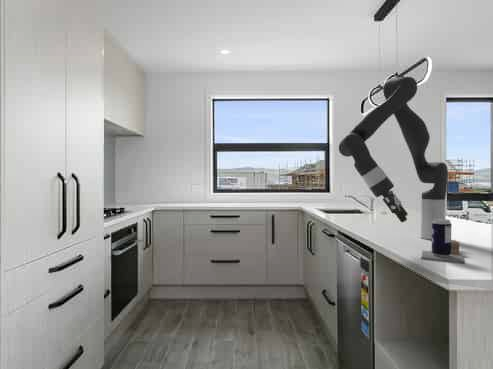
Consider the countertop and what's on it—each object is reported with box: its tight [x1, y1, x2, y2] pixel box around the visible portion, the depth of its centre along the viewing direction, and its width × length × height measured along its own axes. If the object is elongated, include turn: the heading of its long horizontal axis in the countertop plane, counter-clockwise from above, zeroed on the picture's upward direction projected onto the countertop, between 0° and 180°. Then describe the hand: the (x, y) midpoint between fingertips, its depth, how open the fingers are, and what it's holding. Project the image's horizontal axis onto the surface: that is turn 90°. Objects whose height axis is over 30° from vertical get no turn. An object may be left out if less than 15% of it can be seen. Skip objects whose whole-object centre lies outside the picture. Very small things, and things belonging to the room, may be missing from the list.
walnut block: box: [451, 239, 460, 254], centre depth 125 cm, size 4×4×4 cm
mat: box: [420, 250, 465, 264], centre depth 118 cm, size 12×12×1 cm
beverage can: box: [431, 218, 452, 257], centre depth 118 cm, size 6×6×12 cm
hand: (405, 218), depth 127 cm, fingers open, 8 cm apart
